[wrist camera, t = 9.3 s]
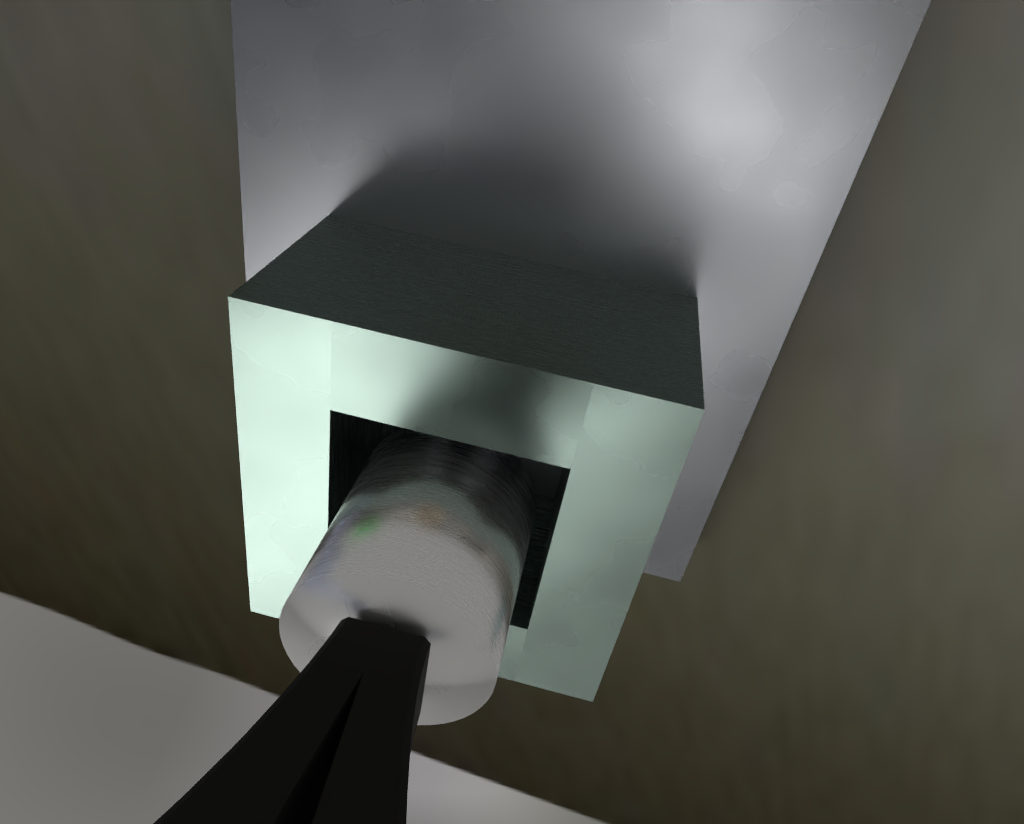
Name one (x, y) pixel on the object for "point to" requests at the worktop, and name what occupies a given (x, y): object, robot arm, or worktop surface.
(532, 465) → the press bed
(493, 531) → the press pin
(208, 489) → the worktop surface
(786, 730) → the worktop surface
